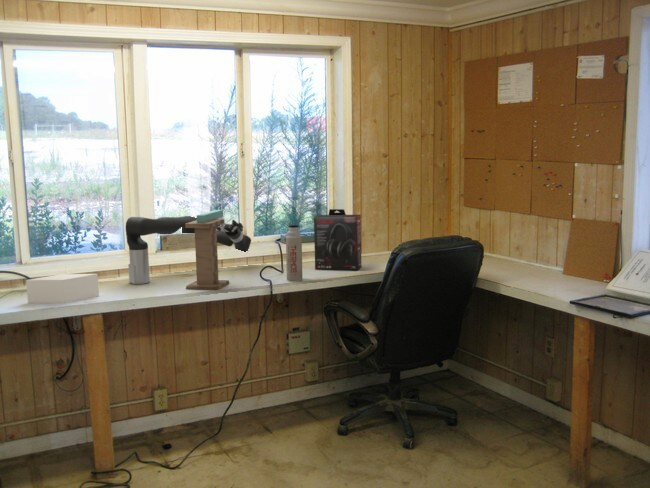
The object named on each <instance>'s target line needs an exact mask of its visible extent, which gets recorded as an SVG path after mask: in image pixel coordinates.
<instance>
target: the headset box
mask: <svg viewBox="0 0 650 488" xmlns="http://www.w3.org/2000/svg"><path fill="white" fill-rule="evenodd" d="M361 216H362V215H361V214H346V212H345V209H344V208H343V209H342V208H341V209H339V208H337V209H336V208H335V209H331V208H330V209H329V211H328V214H316V215H315V216H313V233H314V234H313V235H314V237H313V239H314V269H315V270H321V271H322V270H327V271H328V270H334V271H335V270H338V271H359V269H361V268H362V217H361Z"/></svg>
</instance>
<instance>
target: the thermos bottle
mask: <svg viewBox="0 0 650 488" xmlns="http://www.w3.org/2000/svg"><path fill="white" fill-rule="evenodd" d="M302 241H303V238H302V235H301V231H299V225H298V224H290V225H288V231H287V232H286V236H285V254H286V256H285V257H286V258H285V259H286V260H285V262H286V281H288V282H301V281H303V244H302V243H303V242H302Z"/></svg>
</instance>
